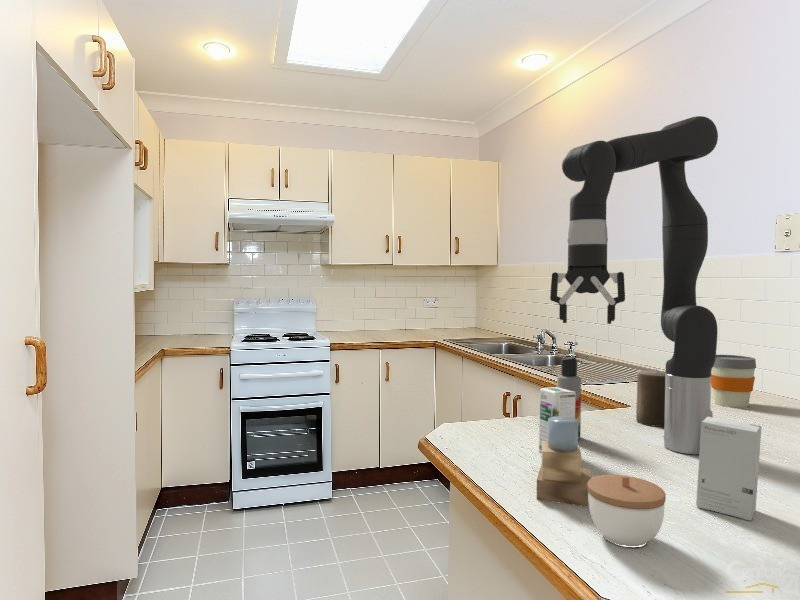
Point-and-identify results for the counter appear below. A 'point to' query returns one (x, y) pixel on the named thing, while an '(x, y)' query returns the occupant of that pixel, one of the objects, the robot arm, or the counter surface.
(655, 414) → the pillar candle
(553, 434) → the blue rounded cylinder
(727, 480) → the skincare box
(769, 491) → the counter surface
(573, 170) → the robot arm
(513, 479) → the counter surface
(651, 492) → the lidded jar
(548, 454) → the oak block
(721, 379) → the reusable coffee cup
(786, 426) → the counter surface
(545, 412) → the syrup box
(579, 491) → the walnut slab
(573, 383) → the lotion bottle
